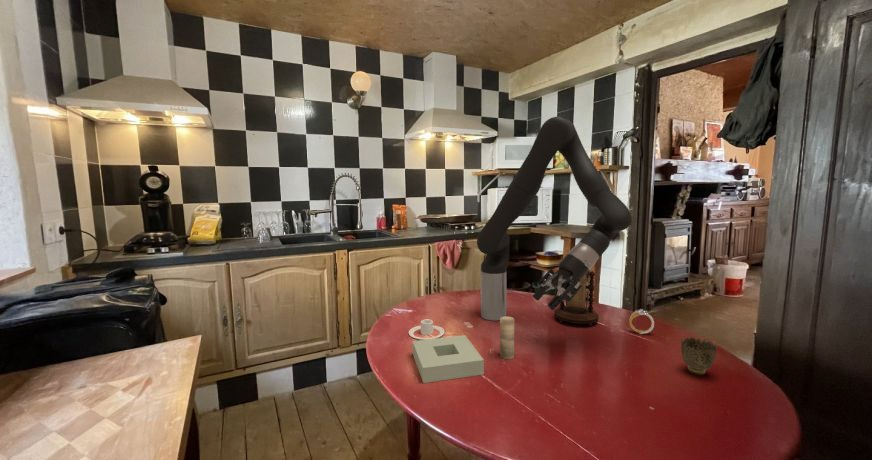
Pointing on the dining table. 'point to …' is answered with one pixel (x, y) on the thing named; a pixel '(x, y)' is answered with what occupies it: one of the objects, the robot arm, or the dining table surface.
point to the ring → (642, 312)
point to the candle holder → (426, 329)
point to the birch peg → (507, 337)
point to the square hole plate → (447, 358)
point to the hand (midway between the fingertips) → (542, 303)
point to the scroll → (579, 305)
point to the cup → (698, 355)
